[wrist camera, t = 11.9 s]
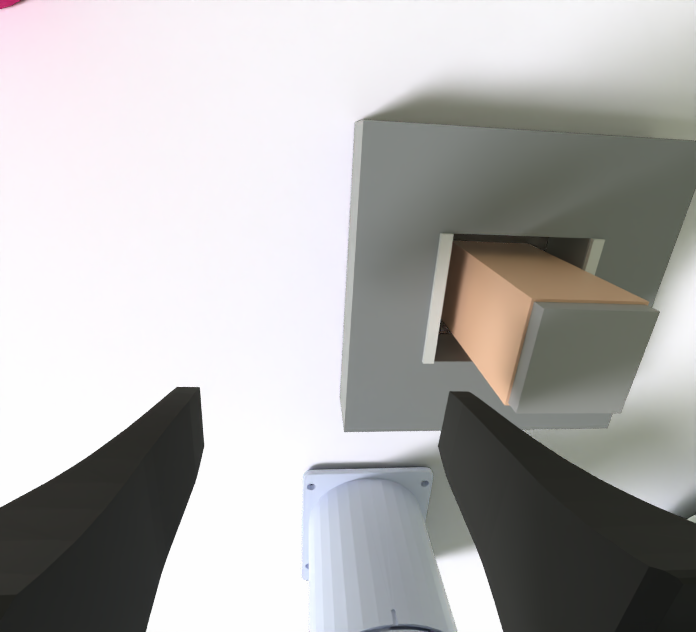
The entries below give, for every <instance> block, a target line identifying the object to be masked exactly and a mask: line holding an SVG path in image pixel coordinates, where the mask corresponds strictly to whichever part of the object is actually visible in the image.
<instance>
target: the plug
mask: <svg viewBox="0 0 696 632" xmlns="http://www.w3.org/2000/svg"><path fill="white" fill-rule="evenodd" d="M648 304H649V301H647V300H645V299H643V298H640V297H638V296H636V295H634V294H632V293H630V292H628V291H626V290H624V289H622V288H620V287H618V286H616V285H613V284H611V283H609V282H607V281H605V280H603V279H601V278H599V277H597V276H595V275H593V274H591V273H588V272H586V271H584V270H582V269H580V268H578V267H576V266H574V265H572V264H570V263H568V262H566V261H564V260H561V259H559V258H557V257H555V256H553V255H551V254H549V253H547V252H545V251H543V250H541V249H539V248H537V247H534V246H532V245H530V244H526V243H503V242H479V241H456V240H453V243H452V249H451V256H450V262H449V268H448V275H447V281H446V288H445V294H444V301H443V307H442V314H441V319H442V321H443V322H444V323H445V325H446V326H447V327H448V329H449V330H450V331H451V333H452V334H453V336H454V337H455V338H456V340H457V341H458V342H459V344H460V345H461V346H462V348H463V349H464V350H465V352H466V353H467V355H468V356H469V357H470V359H471V360H472V361H473V363H474V364H475V365H476V367H477V368H478V370H479V371H480V372H481V374H482V375H483V376H484V378H485V379H486V380H487V382H488V383H489V385H490V386H491V387H492V389H493V390H494V391H495V393H496V394H497V395H498V397H499V398H500V400H501V401H502V402H503V404H504V405H510V406H511V407H512V409H513V410H514V411H515V413H516V414H538V413H621V411H622V409H623V406H624V404H625V401H626V398H627V396H628V393H629V391H630V388H631V385H632V383H633V380H634V378H635V375H636V373H637V370H638V367H639V365H640V362H641V360H642V357H643V354H644V352H645V349H646V347H647V344H648V341H649V339H650V336H651V334H652V331H653V328H654V326H655V323H656V321H657V318H658V316H659V313H660V312H659V311H657V310H655V309H653V308H651V307H649V306H648Z"/></svg>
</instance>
